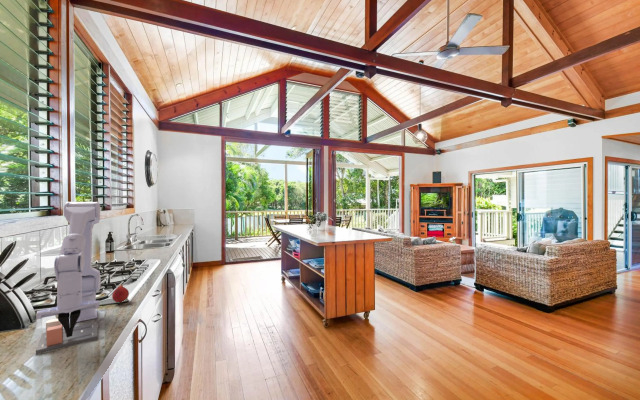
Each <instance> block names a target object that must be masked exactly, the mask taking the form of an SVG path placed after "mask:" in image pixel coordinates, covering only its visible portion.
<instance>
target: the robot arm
mask: <svg viewBox="0 0 640 400" xmlns="http://www.w3.org/2000/svg"><path fill="white" fill-rule="evenodd" d="M63 216H64V218H65V219H66V221H67V223H68V224H69V231H68V235H66V236H64V237H63V239H62V244H61V246H60V247H61V248H60V251H59V256H56V257H55V258H54V263H53V268H54V274H55V280H56V281H57V283H56V287H57V288H56V289H57V292H56V295H57V297H56V300H57V301H56V306H54V307H50V308H46V309H42V310H37V312H36V318H35V320H41V319H43V318H47V317H54V316H57V318H58V320H59V322H60V323H61V325H62V326H63V329H64V330H65V332H66V337H71V336H72V334H73V329H74V327H75V326H76V324H77V323H79V322H83V321H89V320H93V319H97V318H98V309H99V308H100V299H99V300H97V299H96V297H97V296H96V295H97V293H98V292H99V291H100V289H101V284H102V283H101V282H102V281H101V279H102V278H101V272H100V270H99V269H96V268H95V267H92V258H93V257H92V256H93V255H92V254H93V253H92V250H93V248H92V247H93V228H94V225H96V224H99V223H100V220H101V204H100V203H99V201H66V202H65V203H64V205H63Z"/></svg>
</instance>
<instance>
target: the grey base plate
mask: <svg viewBox="0 0 640 400" xmlns="http://www.w3.org/2000/svg"><path fill="white" fill-rule="evenodd" d="M97 340H98V321H95V322H90V323H86V324H80V325H75V326H74V329H73V334H72V336H71V337H66V332H65V330H64V328H63V341H62V343H58V344H54V345H50V346H47V338H46V332H43V333H41V336H40V339H39V340H38V344H37V346H36V349H35V355H39V354H43V353H48V352H52V351H56V350H62V349H64V348H68V347H73V346H77V345H80V344H86V343H90V342H93V341H97Z"/></svg>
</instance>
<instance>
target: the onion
mask: <svg viewBox="0 0 640 400" xmlns="http://www.w3.org/2000/svg"><path fill="white" fill-rule="evenodd" d="M129 295H130V292H129V290H128V289H127V288H126V287H124V284H120V285H119V286H118V287H117V288H116V289H114V291H113V293H112V296H111V298H112V300H113V302H115V303H117V302H122V301H124V300H125V299H126V300H127V299H128V298H129ZM126 300H125V301H126ZM125 301H124V302H125Z"/></svg>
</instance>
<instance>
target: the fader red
mask: <svg viewBox="0 0 640 400" xmlns="http://www.w3.org/2000/svg"><path fill="white" fill-rule="evenodd" d="M63 329H64V327H63V326H62V324H61V325H58V326H53V327H49V328H48V329H47V346H50V345H54V344H58V343H62V341H63Z"/></svg>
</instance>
